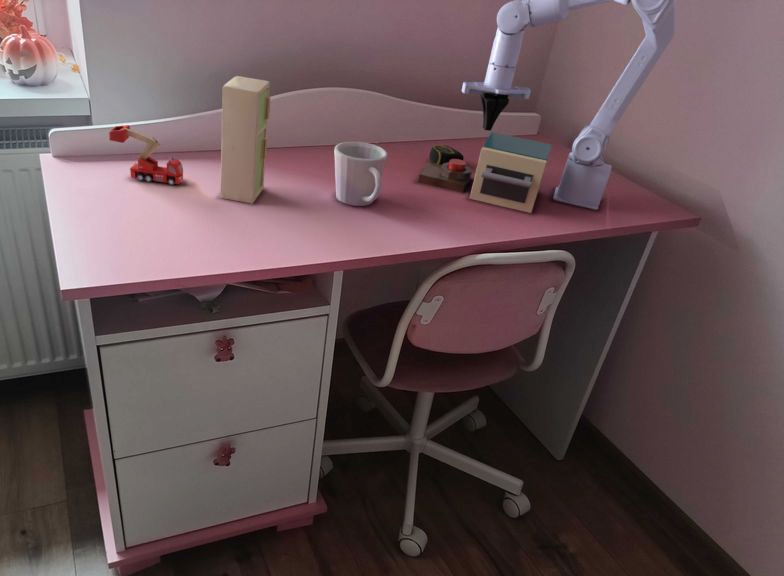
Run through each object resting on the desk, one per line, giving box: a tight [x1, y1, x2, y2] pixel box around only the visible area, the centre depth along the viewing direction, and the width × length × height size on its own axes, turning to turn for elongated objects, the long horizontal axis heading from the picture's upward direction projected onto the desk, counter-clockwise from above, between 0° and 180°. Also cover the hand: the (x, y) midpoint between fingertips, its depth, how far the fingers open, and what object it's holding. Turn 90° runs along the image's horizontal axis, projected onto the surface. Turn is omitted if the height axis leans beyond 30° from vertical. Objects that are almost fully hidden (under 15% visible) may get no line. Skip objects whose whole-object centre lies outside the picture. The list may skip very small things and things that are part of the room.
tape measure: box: [428, 144, 465, 165], centre depth 156 cm, size 7×7×4 cm
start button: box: [448, 159, 467, 172], centre depth 146 cm, size 4×4×2 cm
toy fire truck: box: [108, 125, 184, 186], centre depth 130 cm, size 3×14×10 cm, turn 84°
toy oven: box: [482, 131, 553, 204], centre depth 142 cm, size 11×13×11 cm
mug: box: [333, 141, 389, 207], centre depth 131 cm, size 10×15×10 cm
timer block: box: [417, 161, 473, 193], centre depth 148 cm, size 10×9×4 cm
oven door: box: [469, 146, 548, 214], centre depth 136 cm, size 5×13×11 cm, turn 69°
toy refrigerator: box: [220, 75, 271, 204], centre depth 125 cm, size 8×7×21 cm
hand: (486, 129), depth 148 cm, fingers closed
